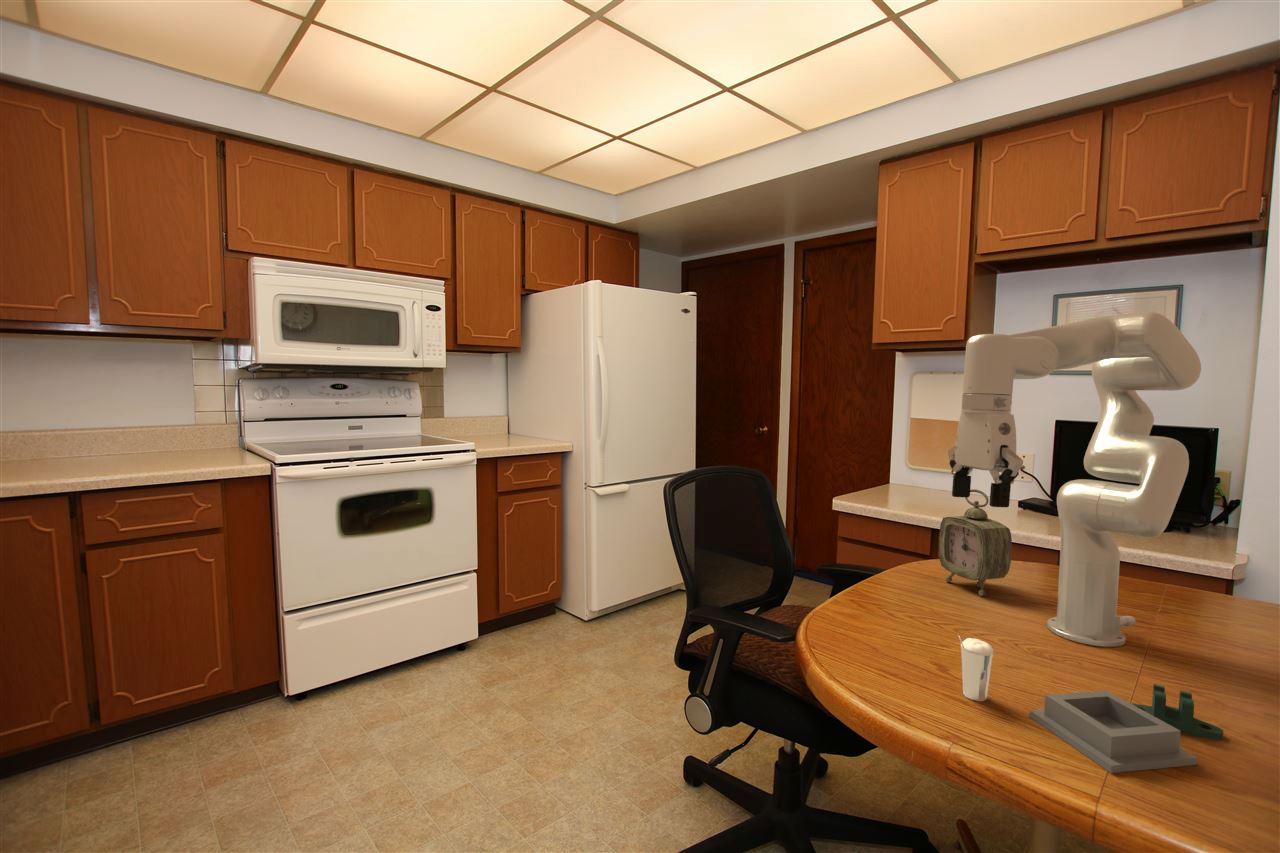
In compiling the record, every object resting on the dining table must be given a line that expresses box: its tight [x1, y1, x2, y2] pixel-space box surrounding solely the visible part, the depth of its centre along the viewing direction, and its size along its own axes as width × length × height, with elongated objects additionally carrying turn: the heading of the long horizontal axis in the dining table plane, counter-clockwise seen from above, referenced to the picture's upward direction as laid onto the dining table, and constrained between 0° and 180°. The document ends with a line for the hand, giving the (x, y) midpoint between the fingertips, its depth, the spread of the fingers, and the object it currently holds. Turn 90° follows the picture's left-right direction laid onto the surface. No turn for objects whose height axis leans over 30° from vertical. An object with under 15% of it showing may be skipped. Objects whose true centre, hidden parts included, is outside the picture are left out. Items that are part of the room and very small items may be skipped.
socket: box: [1029, 690, 1198, 774], centre depth 82 cm, size 13×13×4 cm
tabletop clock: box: [938, 488, 1013, 597], centre depth 144 cm, size 14×9×25 cm, turn 14°
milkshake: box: [958, 636, 994, 702], centre depth 93 cm, size 5×5×10 cm
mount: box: [1130, 683, 1224, 741], centre depth 86 cm, size 11×4×5 cm, turn 51°
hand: (979, 501), depth 102 cm, fingers open, 9 cm apart
